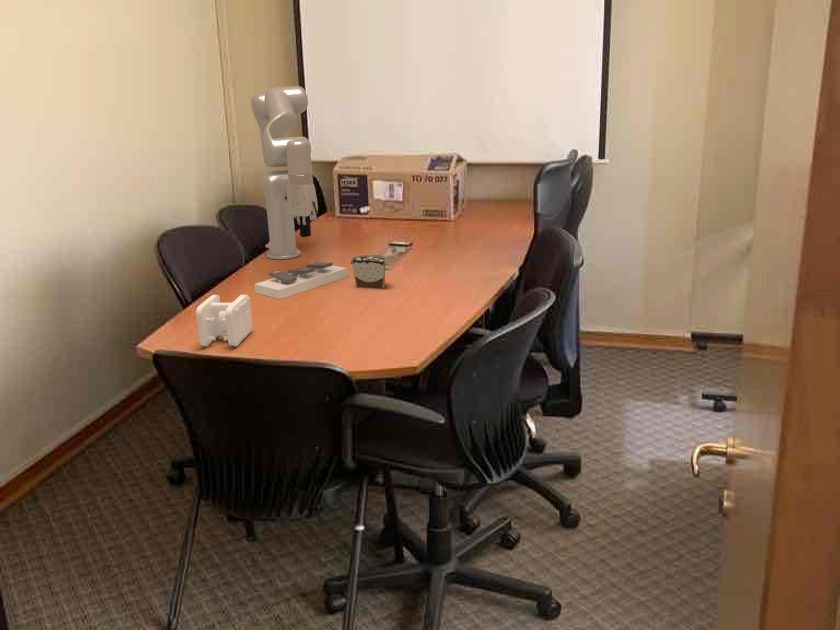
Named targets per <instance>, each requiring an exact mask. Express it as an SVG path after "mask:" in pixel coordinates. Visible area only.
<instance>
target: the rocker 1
mask: <svg viewBox="0 0 840 630" xmlns="http://www.w3.org/2000/svg"><path fill="white" fill-rule="evenodd" d="M268 276H269V277H272V278H276V279H278V280H281V281H283V282H285V283H290V282H293V281H297V277H294V276H292V275H290V274H289V273H288V272H285V271H283V270H280V269H276V270H273V271H268Z"/></svg>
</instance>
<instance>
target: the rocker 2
mask: <svg viewBox="0 0 840 630" xmlns="http://www.w3.org/2000/svg"><path fill="white" fill-rule="evenodd" d="M314 271H315V268H306V267H294V268H291V269H288V270H287V274H289V273H293V274H307V273H310V272H314Z"/></svg>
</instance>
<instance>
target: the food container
mask: <svg viewBox="0 0 840 630" xmlns="http://www.w3.org/2000/svg"><path fill="white" fill-rule="evenodd" d="M350 265H352V269H353V270H352V271H353V277H354V280H355V281H354V283H355V288H356V289H365V290H381V291H383V290H385V283H386V282H385V277H386V274H385V273H386V267H387V266H388V261H387V258H386V256H384V255H381V254H361V255H356V256H353V257H352V258H351V259H350Z"/></svg>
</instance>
